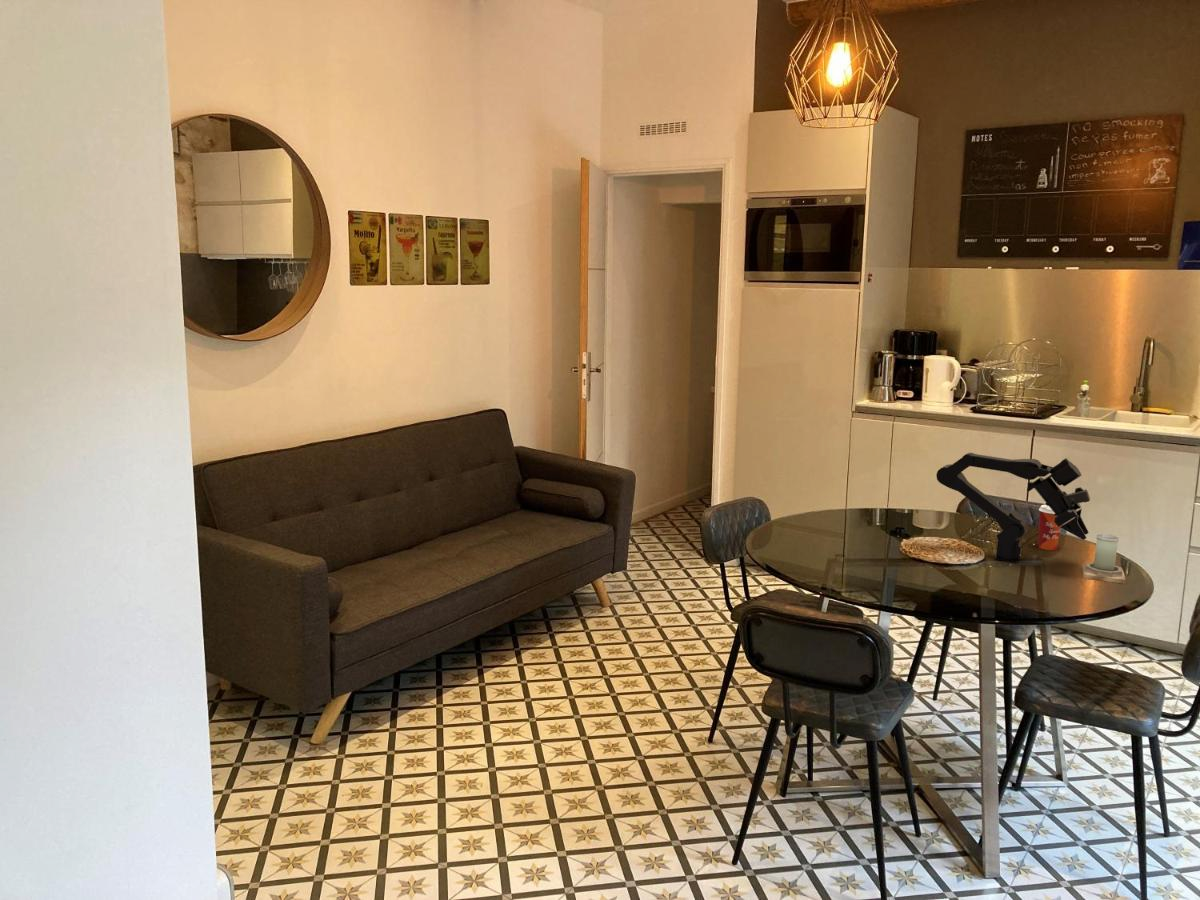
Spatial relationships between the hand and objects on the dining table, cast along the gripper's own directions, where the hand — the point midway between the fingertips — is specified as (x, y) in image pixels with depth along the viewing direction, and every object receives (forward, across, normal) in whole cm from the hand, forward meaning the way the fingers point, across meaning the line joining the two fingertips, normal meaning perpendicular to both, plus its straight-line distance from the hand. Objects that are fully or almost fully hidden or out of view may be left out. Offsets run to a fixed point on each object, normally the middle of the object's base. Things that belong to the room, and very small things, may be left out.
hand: (1086, 536), depth 286 cm
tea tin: (+11, 0, +3) cm, 12 cm away
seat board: (+12, 0, +3) cm, 13 cm away
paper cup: (-1, +23, +16) cm, 28 cm away
